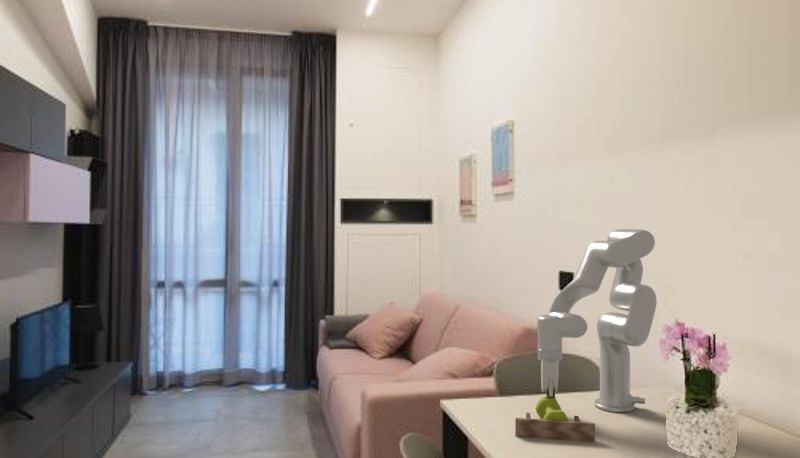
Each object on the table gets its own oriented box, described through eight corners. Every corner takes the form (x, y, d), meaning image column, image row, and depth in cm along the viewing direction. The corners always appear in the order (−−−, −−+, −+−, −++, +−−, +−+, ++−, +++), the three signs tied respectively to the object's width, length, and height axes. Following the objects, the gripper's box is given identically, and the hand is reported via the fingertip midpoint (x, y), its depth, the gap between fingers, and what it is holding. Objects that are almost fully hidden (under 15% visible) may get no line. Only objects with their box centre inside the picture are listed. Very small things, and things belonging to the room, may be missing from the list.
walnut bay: (589, 428, 173) (589, 411, 173) (594, 441, 162) (595, 424, 162) (515, 423, 177) (515, 406, 177) (515, 436, 166) (515, 418, 166)
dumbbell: (571, 438, 165) (571, 413, 165) (542, 437, 166) (542, 412, 166) (560, 419, 181) (560, 396, 181) (534, 418, 182) (534, 395, 182)
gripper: (537, 348, 192) (538, 403, 192) (537, 359, 177) (538, 418, 178) (561, 349, 190) (561, 404, 190) (563, 360, 176) (564, 419, 176)
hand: (550, 411), depth 184 cm, fingers closed
